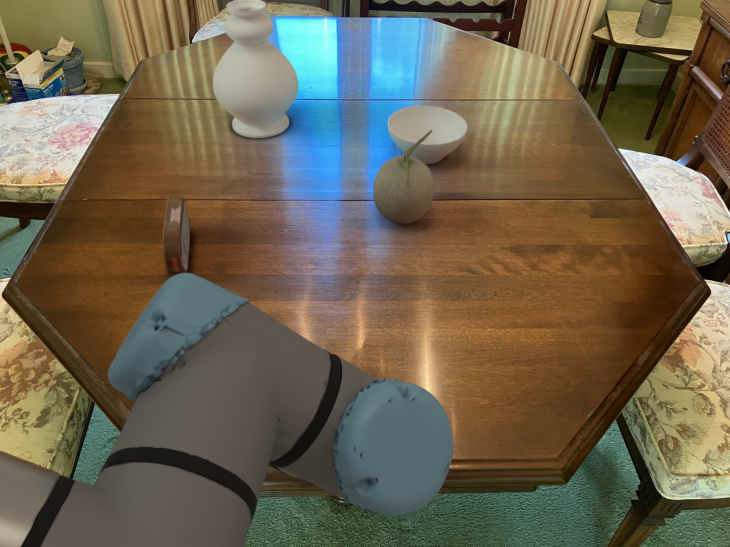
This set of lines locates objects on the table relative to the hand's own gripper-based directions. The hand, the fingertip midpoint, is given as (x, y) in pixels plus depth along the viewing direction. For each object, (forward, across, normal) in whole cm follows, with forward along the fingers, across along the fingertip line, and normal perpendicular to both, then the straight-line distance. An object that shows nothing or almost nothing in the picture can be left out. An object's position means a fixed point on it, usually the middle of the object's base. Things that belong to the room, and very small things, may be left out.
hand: (223, 408), depth 64 cm
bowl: (+23, +65, +16) cm, 71 cm away
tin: (+27, +12, +20) cm, 35 cm away
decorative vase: (+46, +47, +40) cm, 77 cm away
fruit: (+15, +46, +8) cm, 49 cm away
